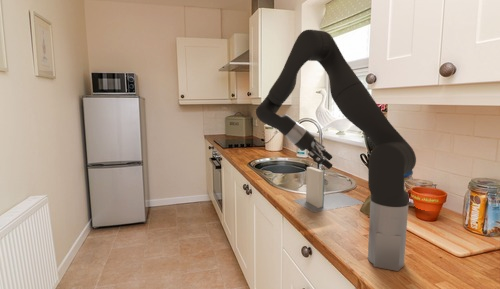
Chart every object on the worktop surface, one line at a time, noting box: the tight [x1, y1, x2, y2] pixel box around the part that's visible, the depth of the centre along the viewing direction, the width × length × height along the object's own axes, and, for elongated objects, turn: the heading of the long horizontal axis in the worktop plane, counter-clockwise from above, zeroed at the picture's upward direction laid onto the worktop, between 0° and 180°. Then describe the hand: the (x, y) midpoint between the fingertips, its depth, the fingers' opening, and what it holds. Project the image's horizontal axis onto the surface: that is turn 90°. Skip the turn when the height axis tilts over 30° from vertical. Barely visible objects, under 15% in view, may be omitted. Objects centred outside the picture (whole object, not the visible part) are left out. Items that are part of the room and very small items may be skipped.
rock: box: [359, 193, 371, 219], centre depth 112 cm, size 11×9×10 cm
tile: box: [305, 166, 325, 208], centre depth 124 cm, size 2×9×15 cm, turn 23°
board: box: [292, 192, 365, 213], centre depth 128 cm, size 26×16×1 cm, turn 113°
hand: (330, 162), depth 117 cm, fingers open, 8 cm apart
